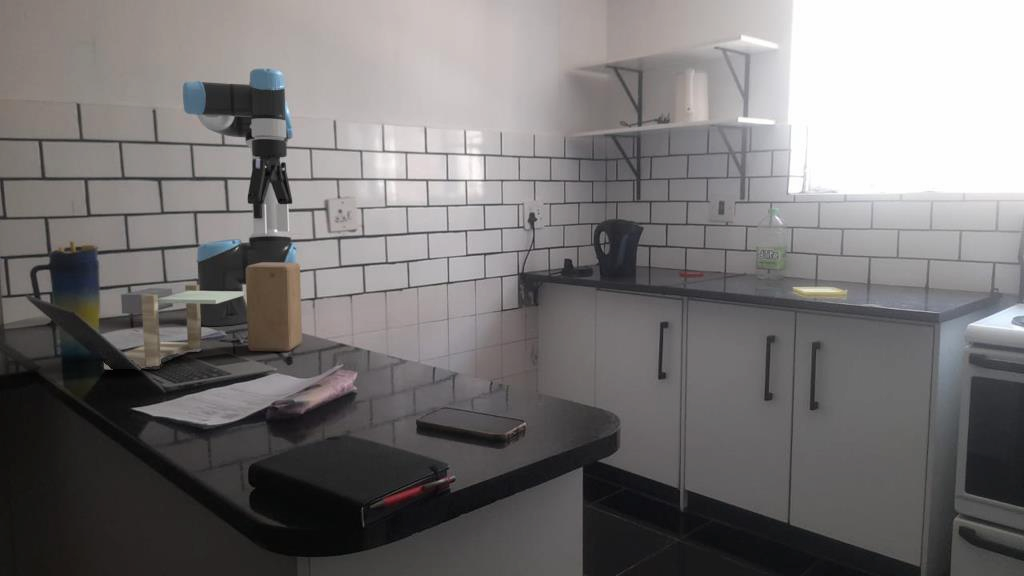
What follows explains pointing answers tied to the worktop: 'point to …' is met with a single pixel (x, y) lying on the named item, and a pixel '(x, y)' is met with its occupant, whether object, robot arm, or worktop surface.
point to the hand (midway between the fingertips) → (272, 232)
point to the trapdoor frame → (152, 345)
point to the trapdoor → (174, 298)
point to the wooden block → (273, 306)
